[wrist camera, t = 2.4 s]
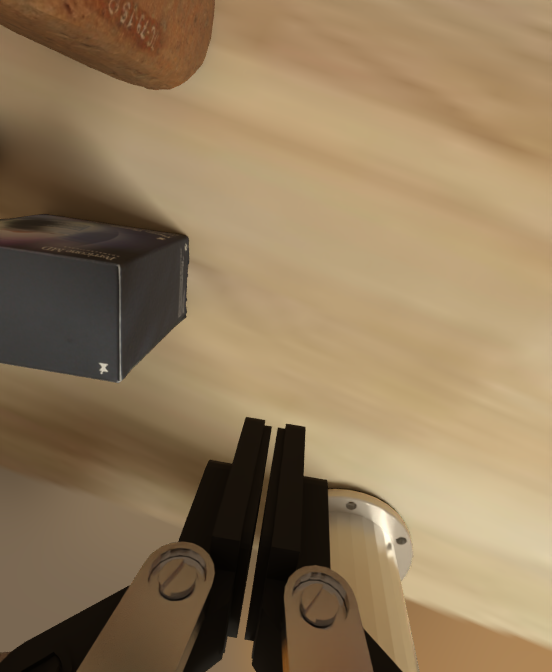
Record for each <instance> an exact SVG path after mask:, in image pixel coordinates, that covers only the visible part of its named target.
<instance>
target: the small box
mask: <svg viewBox="0 0 552 672" xmlns="http://www.w3.org/2000/svg"><path fill="white" fill-rule="evenodd" d="M188 264H189V238H188V237H187V236H184V235H179V234H172V233H166V232H159V231H152V230H146V229H139V228H133V227H126V226H120V225H114V224H107V223H101V222H94V221H87V220H80V219H74V218H68V217H61V216H54V215H47V214H41V215H32V216H25V217H18V218H10V219H1V220H0V363H3V364H9V365H14V366H21V367H27V368H33V369H39V370H45V371H50V372H56V373H63V374H69V375H74V376H80V377H86V378H92V379H99V380H104V381H110V382H116V383H119V382H121V381H122V380H123V379H124V378H125V377H126V376H127V374H128V373H129V372H130V371H131V370H132V369H133V368H134V367H135V366H136V365H137V364H138V363H139V362H140V361H141V360H142V359H143V358H144V357H145V356H146V355H147V354H148V353H149V352H150V351H151V350H152V349H153V348H154V347H155V346H156V345H157V344H158V343H159V342H160V341H161V340H162V339H163V338H164V337H165V336H166V335H167V334H168V333H169V332H170V331H171V330H172V329H173V328H174V327H175V326H176V325H178V324H179V323H180V322H181V321H182V320H184V319H185V318H186V313H187V310H186V301H187V298H186V292H187V277H188Z"/></svg>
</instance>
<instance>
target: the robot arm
mask: <svg viewBox="0 0 552 672" xmlns="http://www.w3.org/2000/svg"><path fill="white" fill-rule="evenodd" d="M271 428H272V427H271V426H265V420H261V419H255V418H249V417H246V419H245V422H244V425H243V429H242V432H241V436H240V439H239V443H238V446H237V450H236V453H235V457H234V460H233V464H230V463H225V462H219V461H213V460H209V461H208V464H207V466H206V469H205V471H204V474H203V477H202V479H201V482H200V485H199V487H198V490H197V493H196V495H195V498H194V501H193V503H192V506H191V509H190V511H189V514H188V517H187V519H186V522H185V525H184V527H183V530H182V533H181V536H180V538H179V541H178V542H173V543H170V544H167V545H164V546H162V547H160V548H159V549H157V550H156V551H154V552H153V553H152V554H151V555H150V556H149V557H148V558H147V560H146V561H145V562H144V564H143V565H142V567H141V569H140V570H139V572H138V573H137V575H136V577H135V578H134V580H133V581H132V583H131V585H130V586H127V587H126V588H124V589H122V590H120V591H118V592H117V593H115V594H113V595H111V596H109V597H107V598H105V599H104V600H102V601H100V602H98V603H96V604H94V605H92V606H91V607H89V608H87V609H85V610H83V611H81V612H80V613H78V614H76V615H74V616H72V617H70V618H69V619H67V620H65V621H63V622H62V623H59V624H58V625H56V626H54V627H52V628H50V629H49V630H47V631H45V632H43V633H41V634H39V635H37V636H36V637H34V638H32V639H30V640H28V641H26V642H25V643H23V644H22V645H20V646H19V647H17V648H16V649H14V650H13V651H12V652H3V653H0V672H206V671H207V670H208V669H210V668H211V667H212V666H213V665H215V664H216V663H217V662H219V661H220V660H221V659H222V655H223V653H224V652H225V647H226V642H227V637H228V636H229V637H235V638H237V634H238V628H239V622H240V616H241V610H242V605H243V599H244V593H245V587H246V581H247V575H248V570H249V563H250V558H251V552H252V546H253V540H254V535H255V529H256V523H257V517H258V511H259V505H260V499H261V492H262V486H263V480H264V473H265V467H266V460H267V454H268V448H269V441H270V435H271ZM304 451H305V427H303V426H297V425H291V424H286V427H285V429H283V428H278V430H277V436H276V442H275V448H274V455H273V461H272V467H271V473H270V479H269V485H268V491H267V497H266V504H265V510H264V516H263V523H262V529H261V536H260V542H259V549H258V555H257V562H256V568H255V575H254V582H253V588H252V595H251V601H250V607H249V614H248V620H247V627H246V633H245V640H251V641H254V644H253V651H252V658H253V660H252V666H253V667H254V669H255V671H256V672H419V668H418V663H417V658H416V653H415V648H414V643H413V638H412V633H411V629H410V624H409V619H408V614H407V609H406V604H405V599H404V594H403V590H402V585H401V581H402V580H403V579H404V578H405V576H406V575H407V573H408V571H409V569H410V567H411V564H412V559H413V545H412V541H411V537H410V533H409V530H408V528H407V526H406V524H405V522H404V521H403V519H402V518H401V517H400V515H399V514H398V513H397V512H396V511H395V510H393V509H392V508H391V507H390V506H389V505H388V504H386V503H384V502H382V501H381V500H379V499H377V498H375V497H373V496H370V495H367V494H365V493H361V492H357V491H352V490H344V489H328V483H327V480H323V479H317V478H312V477H306V476H303V474H304Z"/></svg>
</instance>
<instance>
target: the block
mask: <svg viewBox="0 0 552 672" xmlns="http://www.w3.org/2000/svg"><path fill="white" fill-rule="evenodd" d="M214 5H215V1H214V0H0V24H1V25H3V26H5V27H7V28H8V29H10V30H12V31H14V32H16V33H17V34H20V35H22V36H25V37H27V38H29V39H31V40H33V41H35V42H38V43H40V44H42V45H44V46H46V47H48V48H50V49H53V50H55V51H57V52H59V53H61V54H63V55H65V56H68V57H70V58H72V59H74V60H76V61H78V62H80V63H83V64H85V65H87V66H89V67H91V68H94V69H95V70H98V71H101V72H103V73H105V74H107V75H109V76H112V77H114V78H116V79H119V80H122V81H125V82H127V83H130V84H133V85H138V86H142V87H145V88H147V89H153V90H159V89H172V88H174V87H176V86H179V85H181V84H182V83H184V82H185V81H187V80H188V79H189V78H190V77H191V76H192V75H193V74H194V73H195V72H196V70H197V69H198V68H199V67H200V66H201V65H202V63H203V61H204V59H205V56H206V53H207V49H208V46H209V43H210V39H211V33H212V26H213V18H214Z"/></svg>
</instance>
